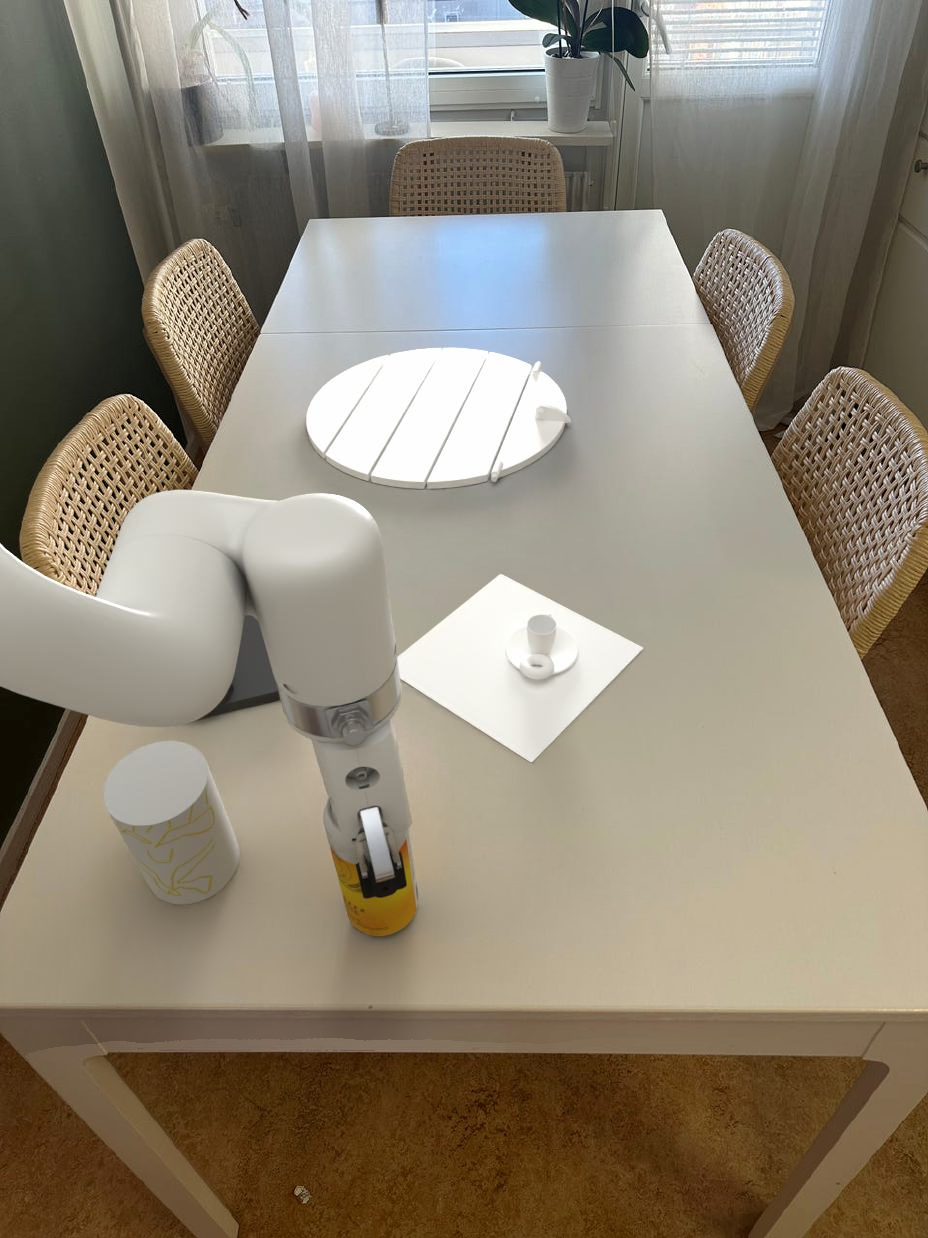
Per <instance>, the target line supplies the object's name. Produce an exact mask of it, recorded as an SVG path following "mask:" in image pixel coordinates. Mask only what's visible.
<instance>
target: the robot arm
mask: <svg viewBox="0 0 928 1238" xmlns="http://www.w3.org/2000/svg"><path fill="white" fill-rule="evenodd" d="M392 613H393V612H392V605H391V598H390V591H389V582H388V575H387V567H386V560H385V552H384V546H383V540H382V535H381V532H380V528H379V526H378V523H377V522H376V520H375V519H374V518H373V516H372V515H371V513H370V512H369V511H368V510H367V509H366V508H365V507H364V506H362V505H361V504H359V503H358V502H356V500H352V499H350V498H347V497H345V496H341V495H336V494H333V493H322V492H321V493H319V492H318V493H317V492H313V493H312V492H311V493H305V494H299V495H294V496H291V497H287V498H284V499H281V500H274V499H273V500H272V499H262V498H253V497H247V496H239V495H233V494H226V493H219V492H213V491H212V492H211V491H203V490H192V489H171V490H163V491H159V492H155V493H152V494H150V495H148V496H146V497H144V498H142V499H141V500H139V501H138V502H137V503H136V504H135V505H133V507H132V508H130V510H129V511H128V513H127V514H126V516H125V518H124V520H123V522H122V524H121V526H120V529H119V532H118V534H117V537H116V540H115V543H114V546H113V548H112V552H111V555H110V558H109V560H108V562H107V564H106V567H105V570H104V572H103V575H102V578H101V580H100V583H99V586H98V589H97V592H96V594H95V596H93V595H91V594H88V593H85V592H82V591H80V590H78V589H75V588H72V587H70V586H68V585H65V584H63V583H61V582H59V581H57V580H54V579H52V578H50V577H48V576H46V575H44V574H43V573H41V572H39V571H38V570H36V569H34V568H33V567H31V566H29V565H28V564H26V563H24V561H22V560H20V559H19V558H18V557H17V556H15V555H14V554H13V553H11V552H10V551H9V550H7V549H6V548H5V547H4V545H3V544H1V543H0V687H1V688H3V689H6V690H9V691H11V692H13V693H16V694H18V695H21V696H24V697H28V698H30V699H34V700H37V701H40V702H42V703H43V702H44V703H47V704H50V705H54V706H56V707H60V708H63V709H65V710H67V709H68V710H70V711H73V712H77V713H78V714H79V713H80V714H83V715H87V716H90V717H94V718H97V719H101V720H105V721H109V722H113V723H118V724H122V725H128V726H135V727H141V728H142V727H143V728H170V727H171V728H172V727H178V726H183V725H187V724H190V723H192V722H195V721H198V720H201V719H200V718H201V717H203V716H205V715H206V714H208V713H209V712H211V711H212V710H213V709H214V708H215V707H216V706H217V705H218V704H219V703H220V702H221V701H222V699H223V698H224V696H225V695H226V693H227V691H228V689H229V687H230V685H231V683H232V680H233V677H234V673H235V668H236V663H237V658H238V653H239V647H240V642H241V636H242V629H243V623H244V617H245V615H251V616H253V617H254V618H256V619H257V620H258V622H259V625H260V628H261V632H262V635H263V639H264V643H265V646H266V650H267V653H268V657H269V661H270V664H271V668H272V671H273V675H274V679H275V682H276V686H277V689H278V693H279V696H280V700H279V701H280V703H281V704H280V705H281V707H282V711H283V714H284V716H285V719H286V722H287V723H288V724H289V725H290V726H291V728H292V729H293V730H294V731H296V732H297V733H298V734H300V735H301V736H303V737H305V738H306V739H309V740H311V743H312V748H313V750H314V754H315V758H316V761H317V764H318V768H319V772H320V775H321V778H322V782H323V784H324V787H325V790H326V794H327V797H328V798H329V800H330V803H331V806H332V809H333V812H334V815H335V817H336V820H337V823H338V826H339V829H340V832H341V834H342V837H343V840H344V841H346V842H347V843H349V844H352V845H353V841H354V844H355V848H356V852H357V857H358V861H359V862H358V863H357V864H356V869H357V873H358V877H359V881H360V886H361V890H362V894H363V898H365V899H368V898H372V897H377V898H383V897H386V896H390V895H392V894H394V893H395V892H396V891H397V890H400V889H403V888H405V887H406V886H407V882H406V876H405V870H404V863H403V857H402V854H401V851H400V852H398V848H397V843H396V839H395V835H394V832H396V833H400V832H403V831H405V830H408V829H409V830H410V828H411V826H412V823H413V818H412V813H411V808H410V804H409V798H408V792H407V788H406V781H405V777H404V775H405V774H404V770H403V764H402V759H401V754H400V753H401V752H400V748H399V743H398V738H397V733H396V729H395V725H394V720H393V717H394V716H395V714H396V713H397V711H398V709H399V707H400V704H401V701H402V696H403V692H402V680H401V679H400V675H399V667H398V659H397V657H398V652H397V643H396V637H395V630H394V623H393V614H392ZM197 719H198V720H197ZM380 816H381V817H383V821H384V822H382V821H381V817H380ZM360 818H361V820H362V824H363V828H360V824H359V823H360V820H359V819H360ZM385 835H386V837H387V841H388V845H389V850H390V852H389V850H388V846H387V841H386V837H385ZM365 840H366V841H367V845H368V849H369V854H370V856H366V857H365V853H364V848H363V844H362V841H365Z"/></svg>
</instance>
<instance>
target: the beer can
mask: <svg viewBox="0 0 928 1238" xmlns="http://www.w3.org/2000/svg"><path fill="white" fill-rule="evenodd" d="M322 815H323V816H322V817H323V818H322V820H323V826H324V829H325V833H326V838H327V841H328V845H329V849H330V852H331V856H332V860H333V864H334V868H335V871H336V872H335V873H336V876H337V880H338V884H339V888H340V891H341V894H342V895H341V896H342V899H343V903H344V907H345V909H346V915H347V917H348V919H349V922H351V924H352V925H353V926H354V927H355V928H356V929H357V930H359V931H360V932H361V933H363V934H366V935H370V936H374V937H384V936H390V935H393V934H396V933H397V932H399V931H401V930H402V929H404V928H406V927H407V926H408V925H409V923H411V922H412V921H413V919H414V917H415V915H416V913H417V911H418V907H419V901H420V899H419V890H418V883H417V876H416V867H415V862H414V861H415V860H414V853H413V847H412V840H411V833H410V832H411V831H410V828H409V829H408V830H405V831H403V832H400V833H396V832H394V835H395V839H396V843H397V848H398V852H400V851H401V854H402V857H403V863H404V870H405V876H406V882H407V886H406V887H405V888H403V889H400V890H397V891H396V892H395V893H394V894H392V895H390V896H386V897H383V898H377V897H372V898H368V899H365V898H363V894H362V890H361V886H360V881H359V877H358V873H357V869H356V864H357V863H358V862H359V861H358V857H357V852H356V848H355V844H354V841H353V845H352V844H349V843H347V842H346V841H344V840H343V837H342V834H341V832H340V829H339V826H338V823H337V820H336V817H335V815H334V812H333V809H332V806H331V803H330V800H329V797H328V798H327V801H326V804H325V806H324V810H323V813H322ZM380 817H381V816H380ZM359 820H360V823H359V824H360V828H363V824H362V820H361V818H360V819H359ZM381 821H382V822H384V821H383V817H381ZM385 837H386V835H385ZM386 841H387V837H386ZM362 844H363V848H364V853H365V857H366V856H370V854H369V849H368V845H367V841H366V840H365V841H362ZM387 846H388V850H389V845H388V841H387ZM389 852H390V850H389Z"/></svg>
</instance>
